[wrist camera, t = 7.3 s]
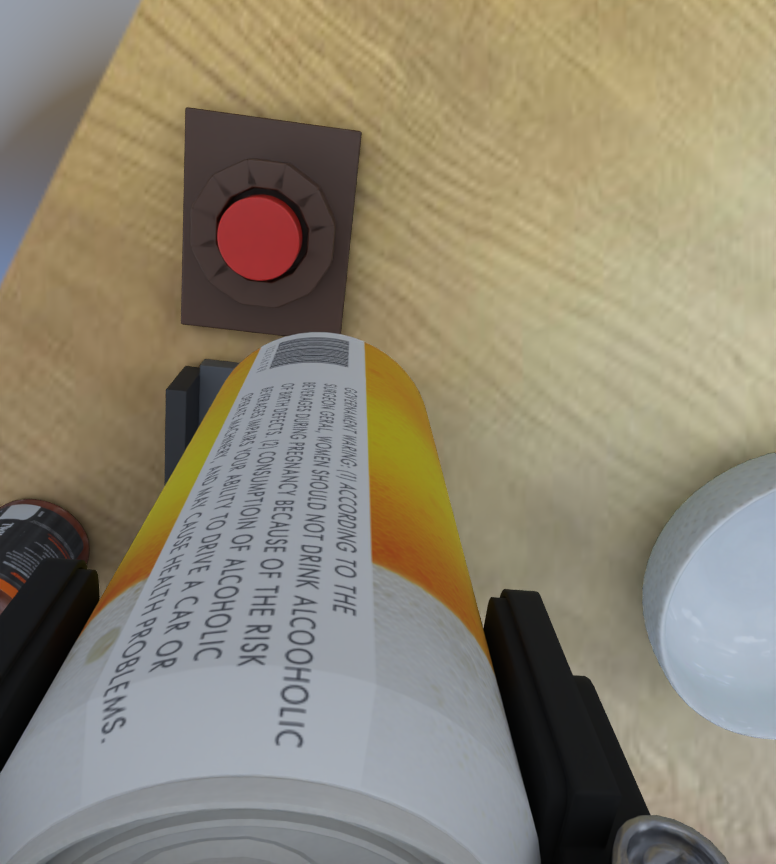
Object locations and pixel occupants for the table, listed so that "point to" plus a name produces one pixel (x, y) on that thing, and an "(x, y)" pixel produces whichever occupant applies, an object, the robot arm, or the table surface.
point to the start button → (259, 237)
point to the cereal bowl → (720, 599)
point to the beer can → (282, 651)
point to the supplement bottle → (35, 541)
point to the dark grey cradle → (190, 405)
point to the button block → (286, 180)
